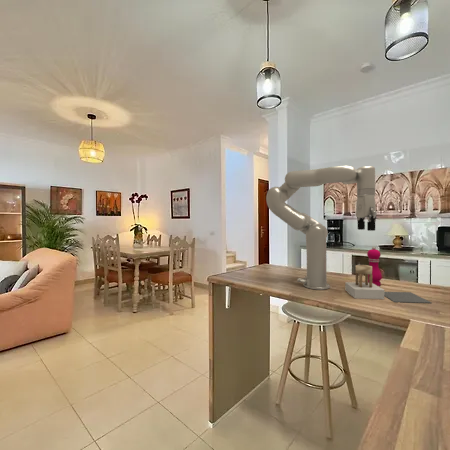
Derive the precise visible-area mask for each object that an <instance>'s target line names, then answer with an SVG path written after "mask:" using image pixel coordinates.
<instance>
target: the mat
mask: <svg viewBox="0 0 450 450" xmlns="http://www.w3.org/2000/svg"><path fill="white" fill-rule="evenodd" d="M384 298H387V299H388V300H390V301H391V302H393V303H398V302H400V303H402V304H403V303H404V304H405V303H406V304H432V302H431V301H430V300H427V299H425V298H423V297H421V296H419V295H417V294H415V293H413V292H411V291H410V292H408V291H384Z"/></svg>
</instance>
